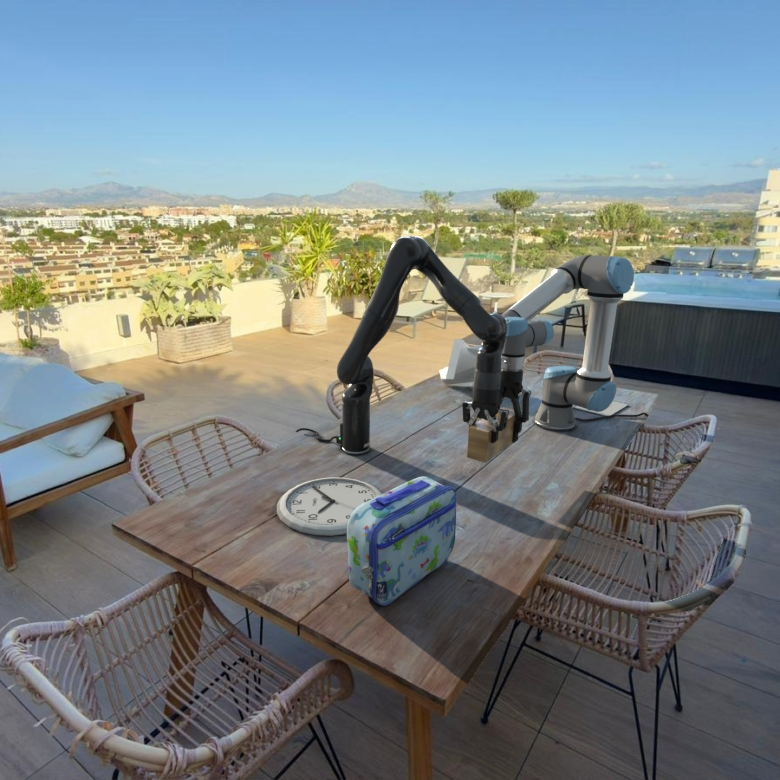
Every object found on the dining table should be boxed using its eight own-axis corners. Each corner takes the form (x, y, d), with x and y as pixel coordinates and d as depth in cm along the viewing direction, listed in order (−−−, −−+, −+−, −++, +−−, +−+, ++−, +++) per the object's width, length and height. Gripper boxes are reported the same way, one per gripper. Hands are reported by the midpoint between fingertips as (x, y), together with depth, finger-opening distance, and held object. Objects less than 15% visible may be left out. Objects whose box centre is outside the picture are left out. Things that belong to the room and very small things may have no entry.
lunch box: (376, 619, 101) (377, 524, 95) (340, 592, 109) (339, 502, 102) (459, 562, 119) (465, 479, 113) (424, 542, 126) (427, 463, 120)
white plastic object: (461, 429, 252) (437, 405, 227) (444, 352, 274) (420, 323, 250) (535, 404, 240) (518, 377, 215) (510, 326, 262) (492, 293, 237)
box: (500, 434, 171) (502, 407, 168) (518, 439, 167) (520, 411, 165) (466, 457, 154) (468, 427, 151) (486, 463, 150) (488, 432, 147)
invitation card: (608, 416, 214) (573, 407, 224) (608, 416, 214) (573, 408, 224) (628, 404, 229) (594, 396, 238) (628, 405, 229) (594, 397, 238)
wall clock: (392, 527, 129) (268, 531, 127) (391, 533, 130) (269, 537, 127) (383, 473, 158) (282, 475, 155) (383, 478, 158) (282, 480, 156)
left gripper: (458, 383, 149) (455, 437, 154) (504, 392, 141) (499, 450, 146) (470, 377, 155) (467, 430, 160) (516, 386, 147) (511, 441, 152)
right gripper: (476, 365, 162) (472, 434, 169) (536, 376, 151) (528, 450, 158) (487, 361, 168) (483, 428, 175) (545, 371, 157) (538, 442, 164)
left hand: (482, 439), depth 153 cm, fingers closed on box, 6 cm apart
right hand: (504, 438), depth 166 cm, fingers closed on box, 6 cm apart
